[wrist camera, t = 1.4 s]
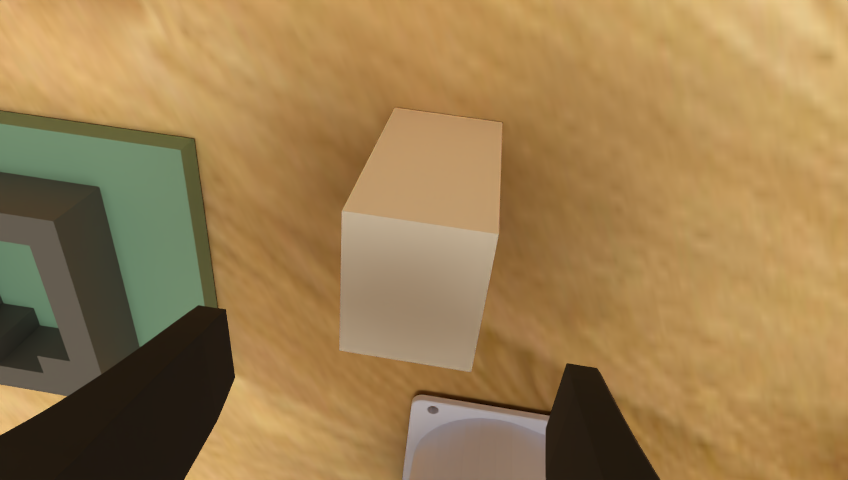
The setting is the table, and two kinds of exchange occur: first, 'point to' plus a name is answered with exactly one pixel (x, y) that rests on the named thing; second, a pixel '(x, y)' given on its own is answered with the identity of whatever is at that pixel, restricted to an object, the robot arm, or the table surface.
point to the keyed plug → (421, 240)
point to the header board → (93, 246)
